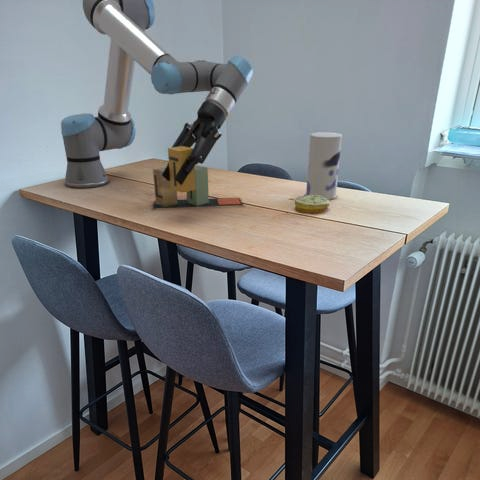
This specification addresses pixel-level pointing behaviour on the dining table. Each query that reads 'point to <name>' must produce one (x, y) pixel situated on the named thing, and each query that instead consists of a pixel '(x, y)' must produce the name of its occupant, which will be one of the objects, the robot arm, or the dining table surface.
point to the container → (323, 164)
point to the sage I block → (199, 187)
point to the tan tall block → (163, 189)
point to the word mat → (211, 203)
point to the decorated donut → (311, 203)
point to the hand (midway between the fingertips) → (171, 179)
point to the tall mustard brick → (175, 163)
